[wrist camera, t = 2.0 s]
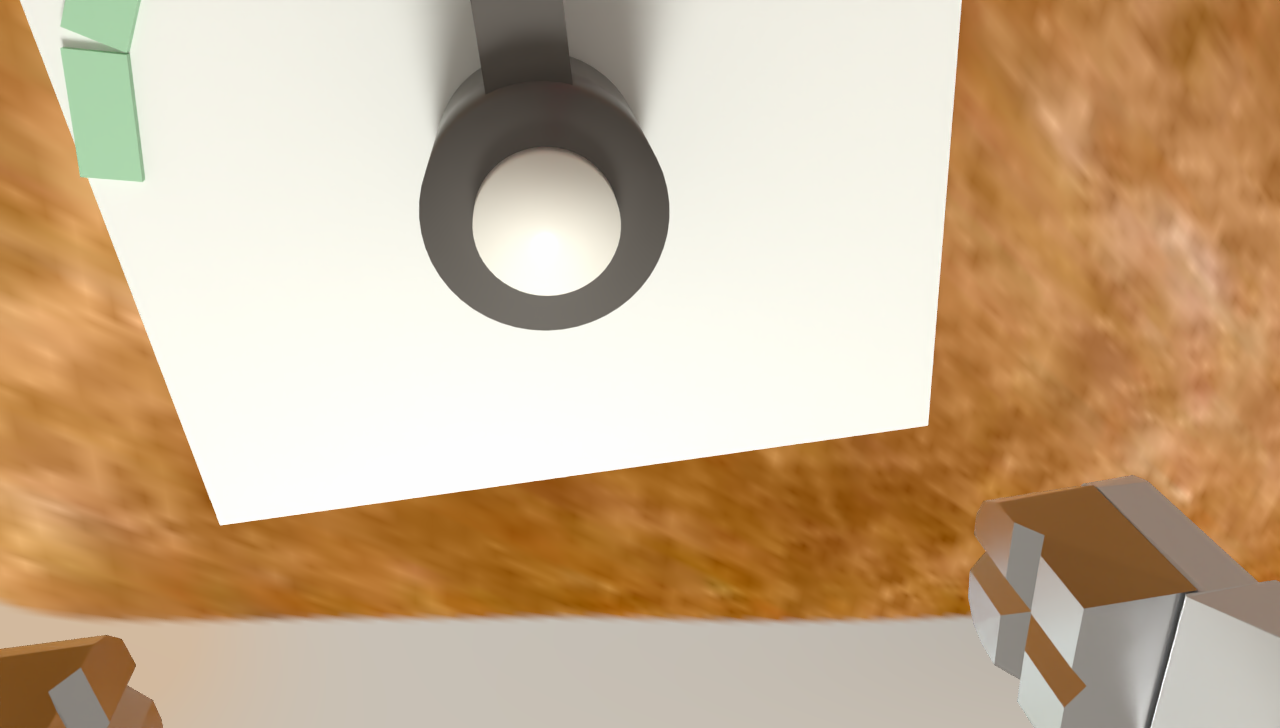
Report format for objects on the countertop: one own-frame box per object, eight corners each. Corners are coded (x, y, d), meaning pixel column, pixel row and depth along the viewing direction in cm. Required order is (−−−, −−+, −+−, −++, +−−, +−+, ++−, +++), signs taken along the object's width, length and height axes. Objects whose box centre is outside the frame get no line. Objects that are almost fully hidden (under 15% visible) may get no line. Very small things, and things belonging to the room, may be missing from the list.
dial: (649, 240, 25) (681, 325, 20) (456, 264, 24) (442, 357, 20) (598, -363, 18) (628, -447, 14) (339, -342, 18) (277, -423, 13)
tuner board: (970, -364, 20) (995, -378, 19) (915, 409, 30) (930, 428, 29) (-67, -283, 19) (-101, -292, 18) (226, 505, 28) (216, 529, 27)
